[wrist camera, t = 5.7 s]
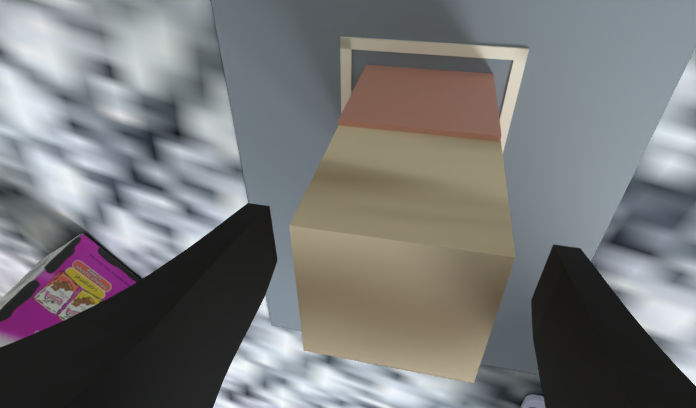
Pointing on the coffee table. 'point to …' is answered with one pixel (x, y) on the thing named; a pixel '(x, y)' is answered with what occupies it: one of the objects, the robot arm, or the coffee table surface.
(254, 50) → the grey flat plate
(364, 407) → the coffee table surface
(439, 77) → the brick-red base block
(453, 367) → the maple block
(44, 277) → the candy bar box
